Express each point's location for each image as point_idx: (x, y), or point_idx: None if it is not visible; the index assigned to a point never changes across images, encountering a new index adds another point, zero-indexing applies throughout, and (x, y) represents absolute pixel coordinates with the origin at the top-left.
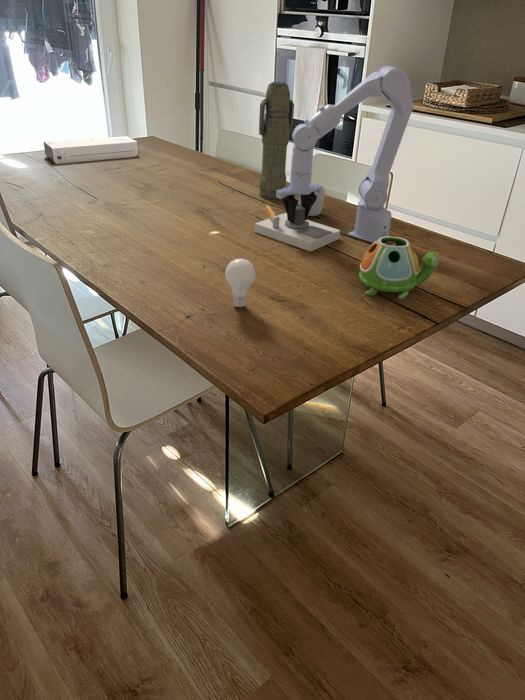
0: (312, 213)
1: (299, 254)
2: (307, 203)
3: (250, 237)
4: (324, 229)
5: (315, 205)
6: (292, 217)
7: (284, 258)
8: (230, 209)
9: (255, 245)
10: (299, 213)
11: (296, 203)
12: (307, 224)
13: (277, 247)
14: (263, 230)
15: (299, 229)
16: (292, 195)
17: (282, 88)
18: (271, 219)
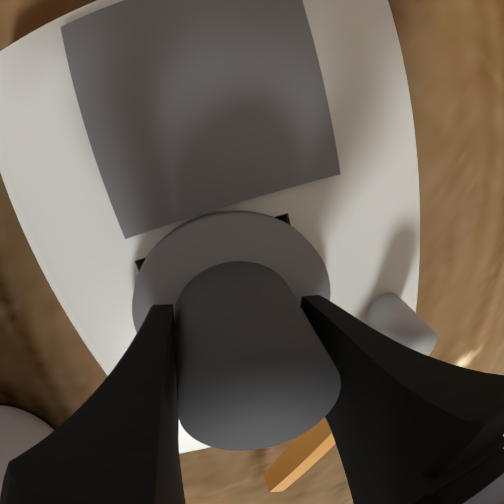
0: (22, 419)
1: (413, 5)
2: (166, 446)
3: (439, 300)
4: (80, 99)
5: (3, 445)
6: (348, 314)
7: (479, 33)
8: (287, 492)
9: (481, 216)
10: (298, 329)
11: (448, 398)
12: (178, 242)
13: (445, 141)
14: None
15: (276, 214)
16: (465, 501)
17: None
18: None
